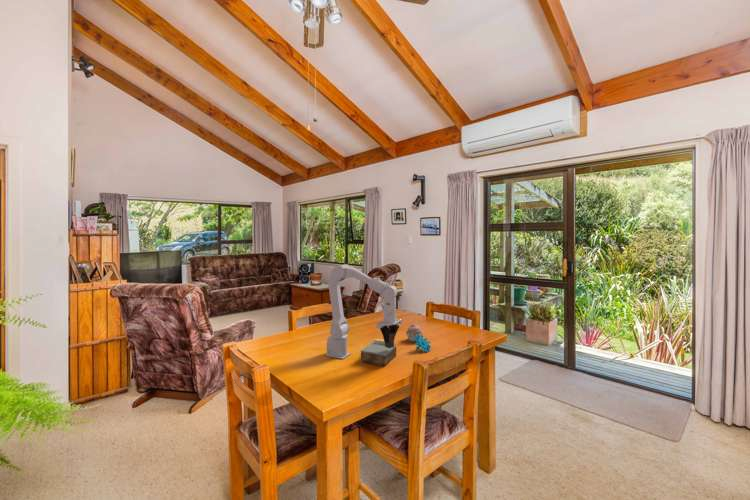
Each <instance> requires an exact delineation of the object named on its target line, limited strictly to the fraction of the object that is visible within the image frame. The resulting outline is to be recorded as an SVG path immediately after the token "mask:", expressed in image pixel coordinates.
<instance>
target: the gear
mask: <svg viewBox="0 0 750 500" xmlns="http://www.w3.org/2000/svg"><path fill="white" fill-rule="evenodd" d="M424 337H425V336H424V334H422V335H421V337H420V334H418V335H417V336H415V339H414V341H416V342H414V343H415V346H416V347H415V348H416V350H421V352H422V353H428V352H430V351H431V349H430V348H431V347H432V346H431V345H430V344H431V343H432V341H431V340H428V338H427V337H425V338H424Z"/></svg>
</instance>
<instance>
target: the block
mask: <svg viewBox="0 0 750 500" xmlns="http://www.w3.org/2000/svg"><path fill="white" fill-rule="evenodd" d="M394 344H395V339H394V333H393V332H390V333H389V341H388V343H387V342H385V347H387V348H392V347H394Z"/></svg>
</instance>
